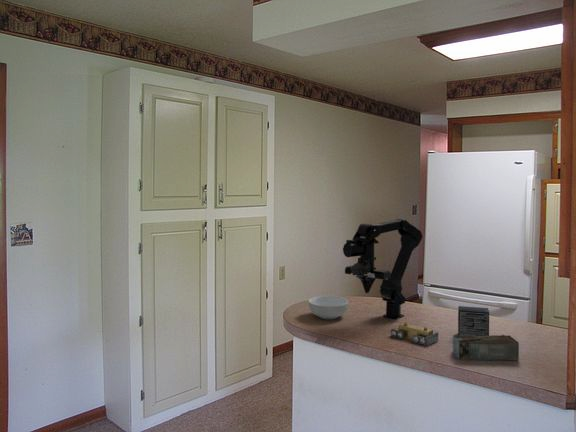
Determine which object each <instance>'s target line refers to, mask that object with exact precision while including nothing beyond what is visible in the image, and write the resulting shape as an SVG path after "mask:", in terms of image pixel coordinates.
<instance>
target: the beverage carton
mask: <svg viewBox="0 0 576 432" xmlns="http://www.w3.org/2000/svg"><path fill="white" fill-rule="evenodd" d="M519 345H520V344H519V341H518V340H517V339H515V338H514V337H512V336H511V335H504V334H500V335H493V334H491V335H489V336H464V335H463V336H462V335H458V334H457V335H456V334H454V335H452V352H453V354H454V355H455V356H456V357H457V359H458V360H461V361H462V360H463V361H464V360H465V361H466V360H467V361H468V360H469V361H470V360H471V361H519V359H520V358H519V357H520V353H519V349H520V346H519Z"/></svg>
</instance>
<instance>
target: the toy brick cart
mask: <svg viewBox="0 0 576 432" xmlns="http://www.w3.org/2000/svg"><path fill="white" fill-rule="evenodd" d="M390 337H393V338H395V339H401V340H404V339H405V338H404V332H402V331H398V329H394V328H392V329H390ZM436 342H439V331H434V332H433V334H431V335H429V336H426V337H422V336H418V335H413V340H412V343H416V344H417V345H418V344H419V345H423V346H425V347H429V346H431V345H432V344H435V343H436Z"/></svg>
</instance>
